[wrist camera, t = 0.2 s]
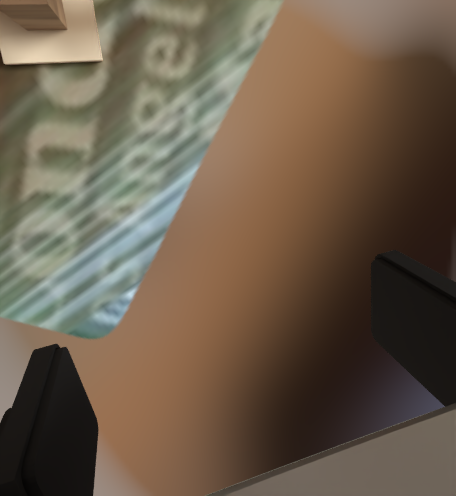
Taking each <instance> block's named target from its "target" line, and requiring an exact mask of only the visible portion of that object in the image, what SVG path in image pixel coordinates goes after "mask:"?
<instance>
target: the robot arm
mask: <svg viewBox="0 0 456 496" xmlns="http://www.w3.org/2000/svg"><path fill="white" fill-rule="evenodd" d="M371 331H372V335H373V337H374V339H375V340H376V342H378V343H379V345H381V346H382V347H383V348H384V349H385V350H386V351H387V352H388V353H389V354H390V355H391V356H392V357H393V358H394V359H395V360H396V361H397V362H399V363H400V364H401V365H402V366H403V367H404V368H405V369H406V370H407V371H408V372H409V373H410V374H411V375H412V376H413V377H414V378H415V379H417V380H418V381H419V382H420V383H421V384H422V385H423V386H424V387H425V388H426V389H427V390H428V391H429V392H430V393H431V394H432V395H434V396H435V397H436V398H437V399H438V400H439V401H440V402H441V403H442V404H443V405H444V406H445V407H443V408H440V409H438V410H435V411H432V412H430V413H427V414H424V415H421V416H418V417H416V418H413V419H410V420H407V421H405V422H402V423H399V424H396V425H394V426H391V427H388V428H385V429H383V430H380V431H377V432H375V433H372V434H369V435H366V436H364V437H361V438H358V439H356V440H353V441H350V442H348V443H345V444H342V445H339V446H337V447H334V448H332V449H329V450H326V451H323V452H321V453H318V454H315V455H313V456H310V457H307V458H304V459H302V460H299V461H296V462H294V463H291V464H288V465H286V466H283V467H280V468H277V469H275V470H272V471H270V472H267V473H264V474H262V475H259V476H256V477H254V478H251V479H248V480H246V481H243V482H240V483H238V484H235V485H232V486H230V487H227V488H224V489H222V490H219V491H216V492H214V493H211V494H209V495H206V496H456V282H454V281H452V280H451V279H449V278H447V277H445V276H443V275H441V274H439V273H437V272H436V271H434V270H432V269H430V268H428V267H426V266H424V265H422V264H421V263H419V262H417V261H415V260H413V259H411V258H410V257H408V256H406V255H404V254H402V253H400V252H398V251H396V250H393V251H389V252H386V253H382V254H378V255H377V256H376V257H375V260H374V261H373V262H372V263H371ZM97 441H98V423H97V418H96V416H95V413H94V411H93V409H92V406H91V404H90V401H89V399H88V397H87V394H86V392H85V389H84V387H83V384H82V382H81V380H80V377H79V375H78V372H77V370H76V368H75V365H74V363H73V360H72V358H71V356H70V353H69V351H68V349H67V348H66V347H62V348H60V347H59V345H58V344H53V345H50V346H46V347H43V348H39V349H35V350H34V351H33V353H32V355H31V358H30V360H29V363H28V366H27V369H26V371H25V374H24V376H23V379H22V382H21V384H20V387H19V390H18V393H17V395H16V398H15V401H14V403H13V406H12V408H9V409H8V410H7V411H6V412H5V414H4V416H3V418H2V420H1V423H0V496H93V489H94V477H95V465H96V453H97Z"/></svg>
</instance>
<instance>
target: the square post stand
mask: <svg viewBox="0 0 456 496" xmlns="http://www.w3.org/2000/svg"><path fill="white" fill-rule="evenodd" d="M0 50H1V54H2V58H3V62H4V64H6V65H20V64H45V63H71V62H96V61H103V59H102V53H101V47H100V41H99V36H98V30H97V24H96V18H95V12H94V6H93V0H0Z"/></svg>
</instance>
